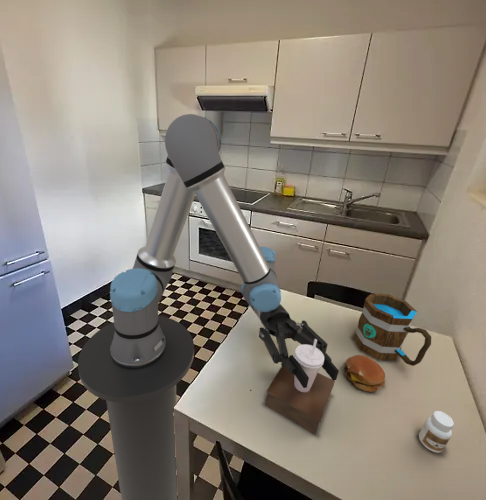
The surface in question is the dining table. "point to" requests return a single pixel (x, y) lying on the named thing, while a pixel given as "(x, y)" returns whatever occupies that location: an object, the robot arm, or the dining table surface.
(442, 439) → the pill bottle
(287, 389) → the walnut box
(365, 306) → the mug
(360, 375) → the burger
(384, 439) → the dining table surface
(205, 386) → the dining table surface
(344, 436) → the dining table surface
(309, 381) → the smoothie
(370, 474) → the dining table surface
